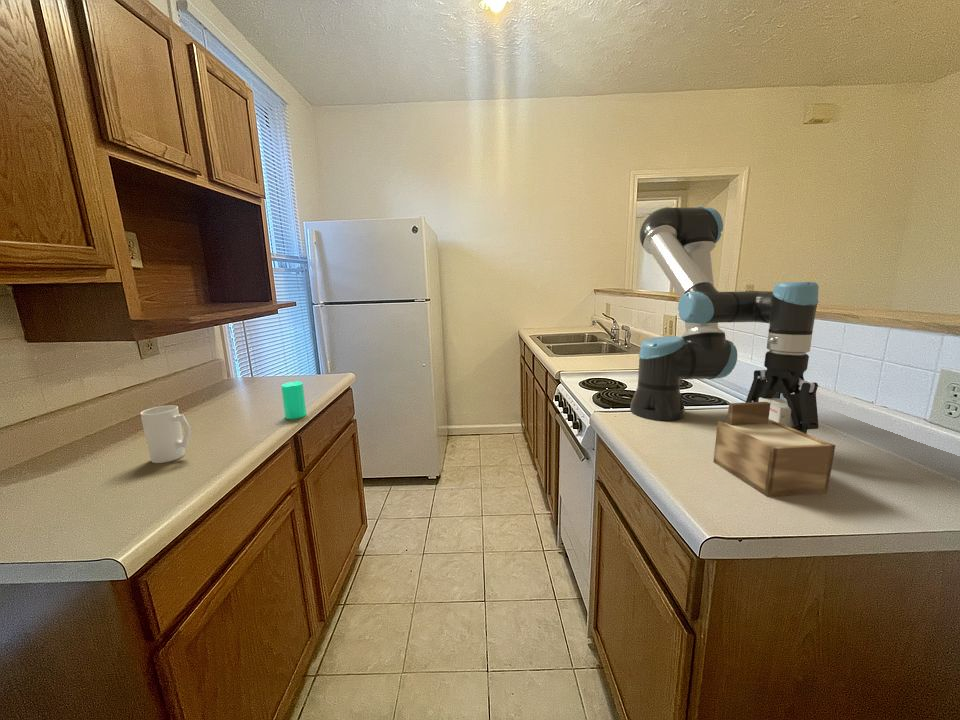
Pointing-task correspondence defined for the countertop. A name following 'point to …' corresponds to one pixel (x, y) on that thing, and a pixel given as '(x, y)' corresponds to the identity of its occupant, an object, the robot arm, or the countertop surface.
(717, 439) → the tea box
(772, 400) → the ink box
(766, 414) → the lid
